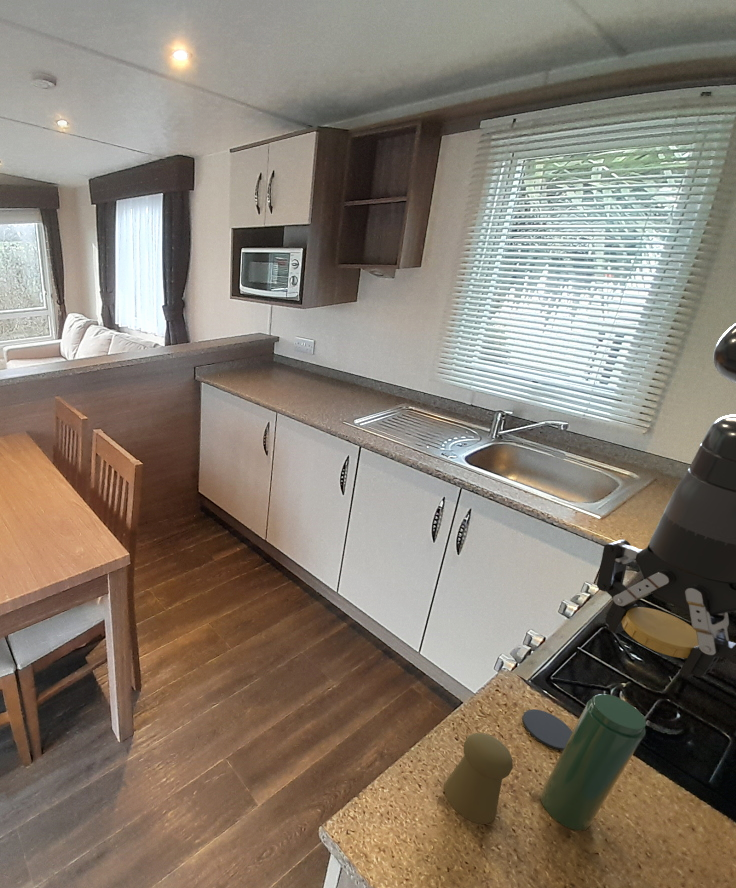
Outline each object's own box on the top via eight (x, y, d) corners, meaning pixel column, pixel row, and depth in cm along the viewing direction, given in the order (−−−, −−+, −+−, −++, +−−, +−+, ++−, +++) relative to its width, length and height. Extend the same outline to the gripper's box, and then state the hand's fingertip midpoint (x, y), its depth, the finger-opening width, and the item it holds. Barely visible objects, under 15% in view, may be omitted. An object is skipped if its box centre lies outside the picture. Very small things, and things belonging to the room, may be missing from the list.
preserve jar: (574, 792, 66) (628, 695, 58) (599, 834, 61) (662, 735, 54) (532, 784, 67) (580, 688, 59) (553, 826, 62) (608, 727, 54)
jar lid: (647, 654, 50) (652, 644, 49) (608, 614, 55) (613, 604, 55) (714, 662, 49) (720, 651, 48) (668, 620, 54) (673, 609, 54)
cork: (499, 797, 66) (524, 745, 61) (491, 835, 61) (516, 781, 57) (449, 767, 69) (469, 715, 65) (438, 800, 65) (458, 748, 61)
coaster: (558, 714, 76) (559, 712, 76) (584, 754, 71) (585, 751, 70) (514, 708, 78) (515, 706, 77) (535, 746, 72) (536, 744, 72)
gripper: (608, 495, 51) (557, 615, 58) (815, 576, 39) (720, 717, 46) (651, 482, 54) (598, 600, 60) (861, 556, 41) (763, 693, 48)
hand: (651, 650), depth 53 cm, fingers closed on jar lid, 5 cm apart
